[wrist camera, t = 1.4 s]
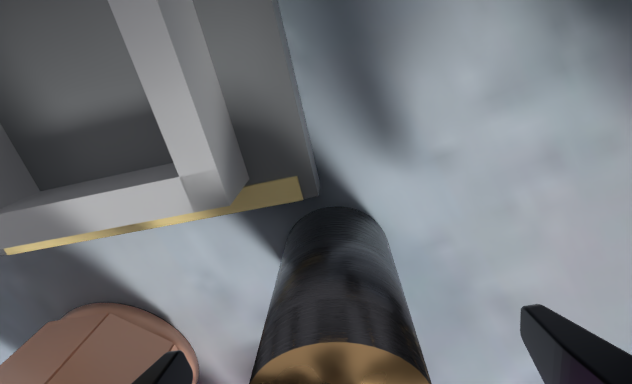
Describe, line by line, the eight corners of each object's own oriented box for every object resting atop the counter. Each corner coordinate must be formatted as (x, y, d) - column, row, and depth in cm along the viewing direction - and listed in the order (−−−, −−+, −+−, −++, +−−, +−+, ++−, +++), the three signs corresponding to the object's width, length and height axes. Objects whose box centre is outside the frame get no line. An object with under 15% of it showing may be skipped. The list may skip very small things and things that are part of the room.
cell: (380, 197, 11) (446, 381, 5) (395, 287, 13) (460, 522, 6) (273, 217, 12) (200, 407, 5) (299, 301, 13) (266, 531, 7)
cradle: (230, -203, 7) (161, -379, 4) (319, 182, 11) (315, 226, 8) (-164, -59, 9) (-406, -118, 6) (28, 239, 13) (-65, 292, 10)
